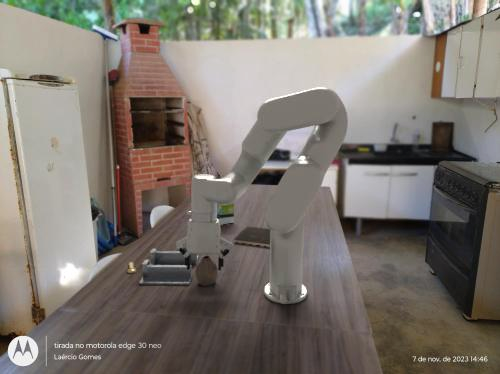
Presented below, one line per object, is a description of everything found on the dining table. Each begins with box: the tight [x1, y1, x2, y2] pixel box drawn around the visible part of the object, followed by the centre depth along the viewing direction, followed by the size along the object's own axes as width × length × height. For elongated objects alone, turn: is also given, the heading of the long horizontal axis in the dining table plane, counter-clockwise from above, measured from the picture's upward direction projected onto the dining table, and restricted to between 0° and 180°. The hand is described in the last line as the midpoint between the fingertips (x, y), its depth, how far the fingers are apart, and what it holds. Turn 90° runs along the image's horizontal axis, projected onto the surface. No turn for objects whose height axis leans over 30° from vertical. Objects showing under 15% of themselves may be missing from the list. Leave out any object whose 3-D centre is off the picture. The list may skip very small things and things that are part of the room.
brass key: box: [127, 261, 137, 274], centre depth 128 cm, size 7×3×1 cm, turn 19°
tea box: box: [217, 202, 235, 224], centre depth 175 cm, size 15×10×15 cm, turn 22°
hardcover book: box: [233, 225, 270, 248], centre depth 153 cm, size 16×23×2 cm
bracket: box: [138, 248, 200, 286], centre depth 126 cm, size 20×16×5 cm
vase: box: [195, 255, 219, 287], centre depth 117 cm, size 7×7×9 cm
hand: (204, 268), depth 117 cm, fingers open, 9 cm apart
